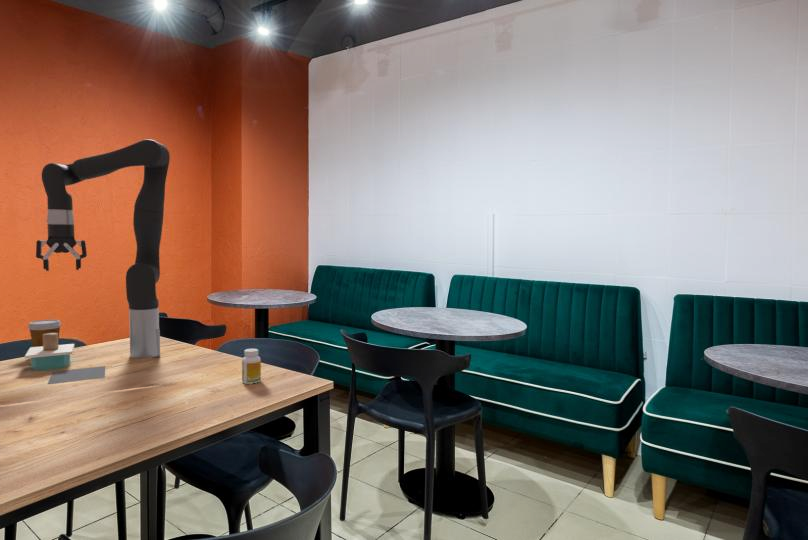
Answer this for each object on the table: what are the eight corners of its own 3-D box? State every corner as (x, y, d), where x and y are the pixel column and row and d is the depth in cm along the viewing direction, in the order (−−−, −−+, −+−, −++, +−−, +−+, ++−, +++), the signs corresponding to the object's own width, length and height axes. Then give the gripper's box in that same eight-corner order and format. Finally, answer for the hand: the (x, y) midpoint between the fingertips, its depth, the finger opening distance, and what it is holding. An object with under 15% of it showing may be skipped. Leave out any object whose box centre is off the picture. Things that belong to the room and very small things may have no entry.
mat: (105, 367, 160) (105, 365, 160) (104, 379, 148) (104, 377, 148) (52, 373, 153) (52, 371, 153) (47, 385, 141) (47, 384, 141)
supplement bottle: (264, 380, 150) (264, 349, 149) (252, 385, 145) (252, 353, 144) (250, 378, 152) (250, 347, 152) (238, 382, 148) (237, 350, 147)
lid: (74, 345, 167) (73, 329, 167) (72, 354, 157) (71, 336, 157) (30, 349, 161) (29, 332, 161) (24, 358, 151) (24, 339, 151)
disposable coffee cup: (49, 359, 169) (48, 324, 168) (22, 358, 169) (20, 323, 168) (68, 352, 178) (67, 319, 177) (42, 351, 178) (41, 318, 177)
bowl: (71, 361, 166) (70, 346, 166) (68, 369, 158) (68, 353, 157) (34, 365, 161) (33, 350, 161) (29, 373, 153) (29, 357, 152)
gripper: (86, 223, 176) (87, 269, 177) (36, 222, 169) (38, 270, 170) (85, 223, 170) (86, 270, 171) (33, 222, 162) (35, 271, 164)
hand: (62, 270), depth 171 cm, fingers open, 8 cm apart
